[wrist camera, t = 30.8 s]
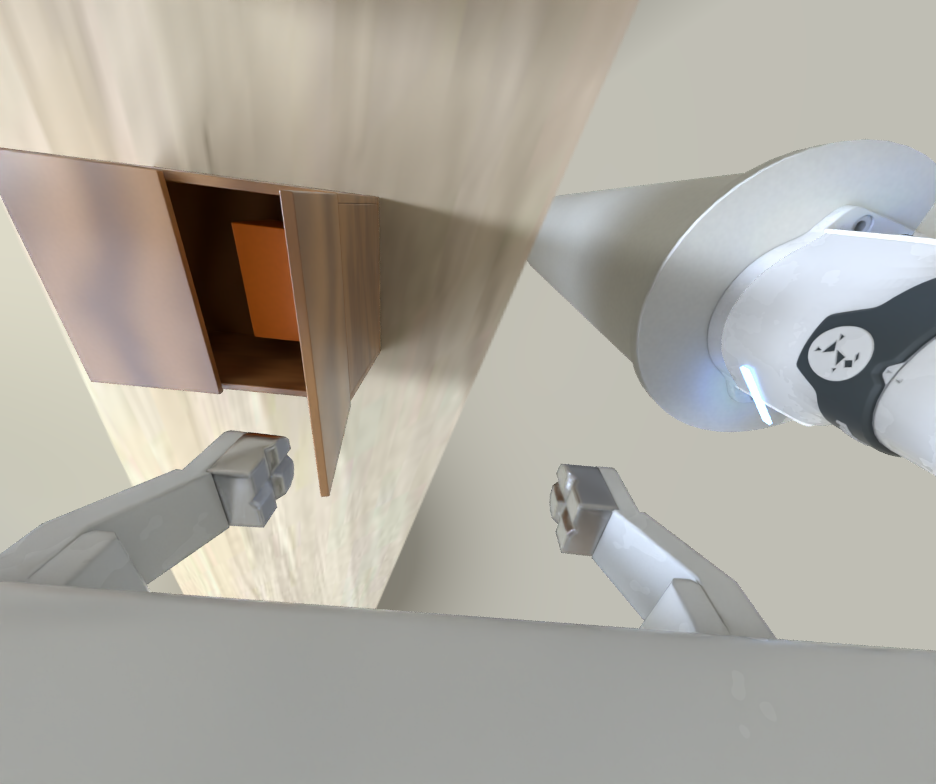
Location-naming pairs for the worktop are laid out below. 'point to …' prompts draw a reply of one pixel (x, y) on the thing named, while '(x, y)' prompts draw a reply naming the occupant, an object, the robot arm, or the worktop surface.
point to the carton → (174, 271)
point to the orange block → (267, 278)
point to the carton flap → (319, 319)
